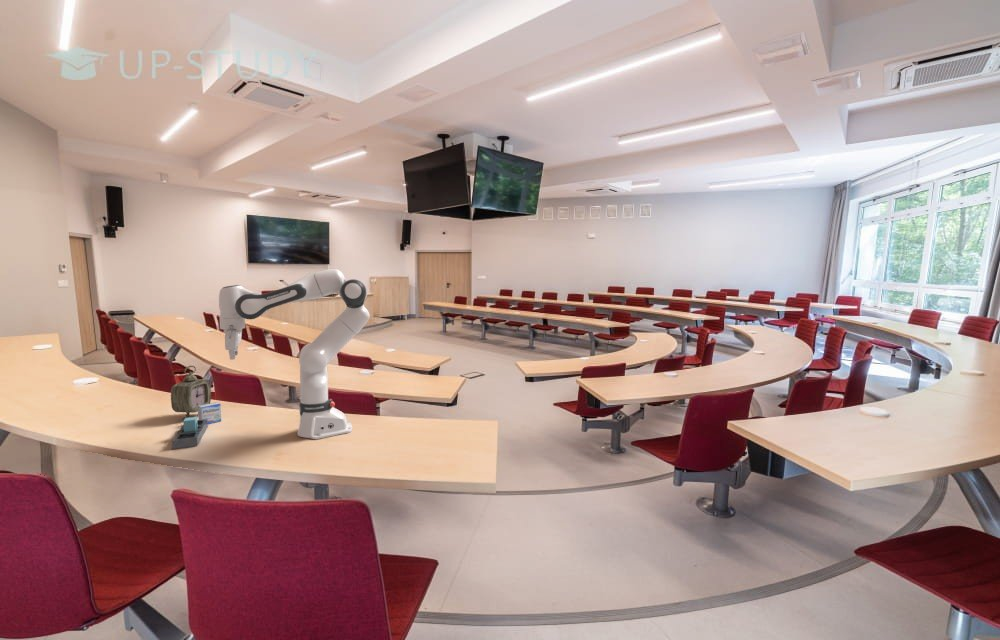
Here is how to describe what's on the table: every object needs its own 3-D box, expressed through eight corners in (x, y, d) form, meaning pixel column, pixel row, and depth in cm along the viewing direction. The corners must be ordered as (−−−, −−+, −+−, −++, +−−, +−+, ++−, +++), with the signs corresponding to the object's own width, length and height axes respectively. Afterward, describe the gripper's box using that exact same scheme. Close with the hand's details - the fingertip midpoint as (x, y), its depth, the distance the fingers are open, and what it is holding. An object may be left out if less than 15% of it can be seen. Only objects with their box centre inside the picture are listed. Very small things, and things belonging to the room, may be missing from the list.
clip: (197, 435, 177) (197, 416, 176) (196, 438, 174) (195, 419, 173) (186, 436, 175) (185, 418, 175) (184, 439, 172) (183, 421, 171)
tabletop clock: (189, 422, 192) (186, 369, 189) (170, 422, 192) (167, 368, 189) (211, 412, 206) (209, 363, 204) (193, 412, 206) (191, 362, 204)
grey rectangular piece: (207, 426, 187) (207, 419, 187) (197, 446, 166) (196, 437, 165) (186, 429, 183) (185, 421, 183) (172, 449, 162) (171, 440, 162)
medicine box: (201, 426, 188) (200, 407, 187) (198, 423, 190) (197, 405, 190) (221, 421, 194) (220, 403, 193) (218, 419, 197) (217, 401, 196)
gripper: (238, 326, 164) (240, 361, 166) (243, 321, 182) (245, 352, 184) (219, 327, 161) (221, 362, 163) (226, 322, 180) (228, 353, 181)
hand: (233, 357), depth 173 cm, fingers open, 8 cm apart
